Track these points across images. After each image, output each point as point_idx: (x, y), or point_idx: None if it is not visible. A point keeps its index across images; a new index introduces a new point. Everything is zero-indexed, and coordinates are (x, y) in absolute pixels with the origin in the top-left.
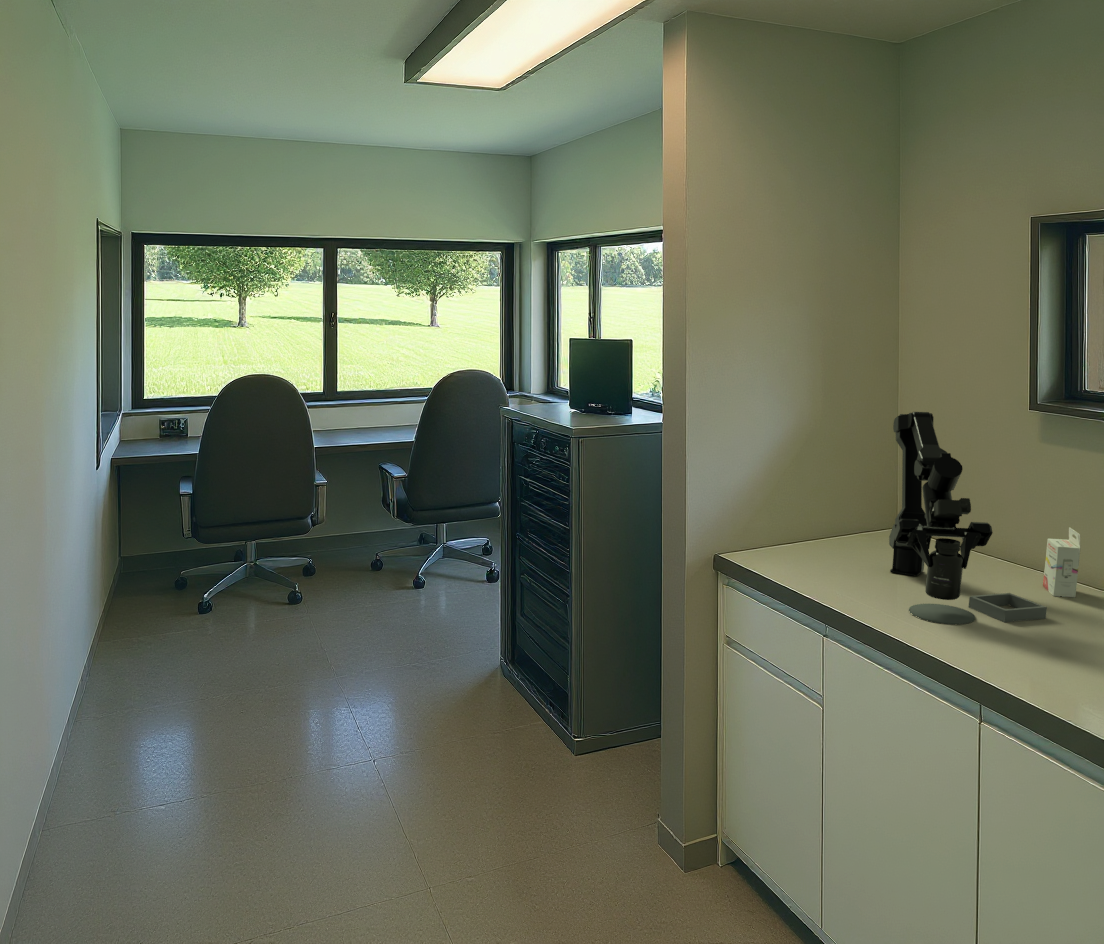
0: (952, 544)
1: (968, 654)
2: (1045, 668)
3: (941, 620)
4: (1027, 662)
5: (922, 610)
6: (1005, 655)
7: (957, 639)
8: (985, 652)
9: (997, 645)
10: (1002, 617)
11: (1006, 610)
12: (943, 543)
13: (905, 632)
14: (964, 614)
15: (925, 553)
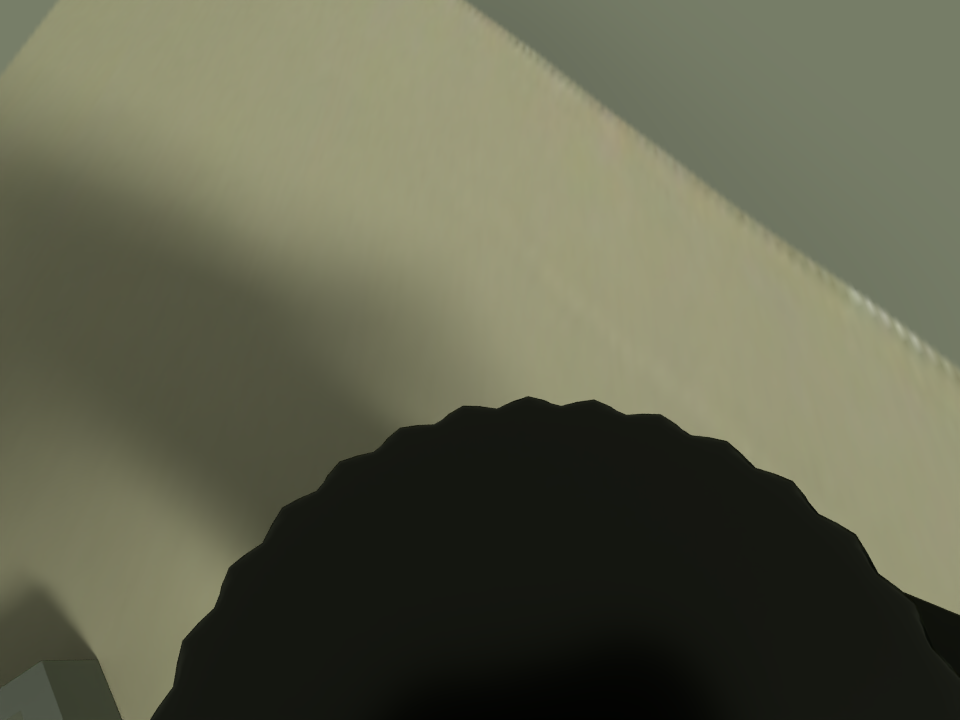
0: (435, 432)
1: (413, 102)
2: (161, 68)
3: None
4: (207, 98)
5: None
6: (270, 135)
7: (438, 244)
8: (343, 140)
9: (270, 231)
10: (87, 679)
11: (30, 670)
12: (679, 434)
13: (671, 253)
14: None
15: (932, 606)
